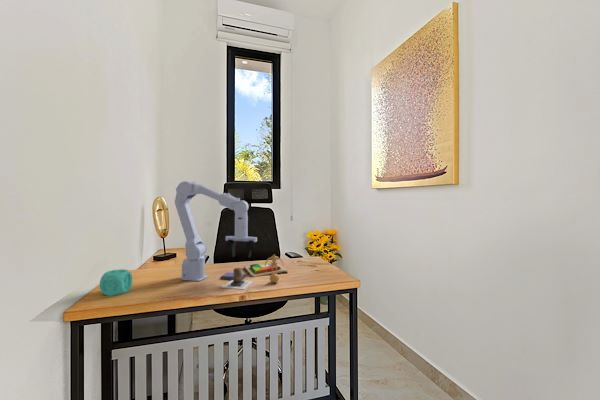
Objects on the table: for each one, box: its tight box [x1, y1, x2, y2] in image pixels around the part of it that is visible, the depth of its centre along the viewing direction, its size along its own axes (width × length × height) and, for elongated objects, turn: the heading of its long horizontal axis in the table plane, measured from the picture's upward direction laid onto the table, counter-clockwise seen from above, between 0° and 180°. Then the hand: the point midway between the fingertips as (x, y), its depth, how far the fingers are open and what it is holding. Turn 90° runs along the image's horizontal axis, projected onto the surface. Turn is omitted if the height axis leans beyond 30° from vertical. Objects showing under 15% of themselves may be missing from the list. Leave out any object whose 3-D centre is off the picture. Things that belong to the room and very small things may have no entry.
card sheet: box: [221, 280, 254, 290], centre depth 119 cm, size 10×10×1 cm
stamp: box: [231, 267, 245, 286], centre depth 119 cm, size 4×4×6 cm
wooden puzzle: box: [243, 260, 289, 278], centre depth 142 cm, size 18×19×4 cm
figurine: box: [264, 254, 284, 284], centre depth 123 cm, size 8×6×12 cm
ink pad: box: [219, 272, 248, 281], centre depth 129 cm, size 10×7×1 cm
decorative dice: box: [99, 268, 133, 297], centre depth 109 cm, size 8×8×8 cm
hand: (241, 257), depth 127 cm, fingers open, 7 cm apart
